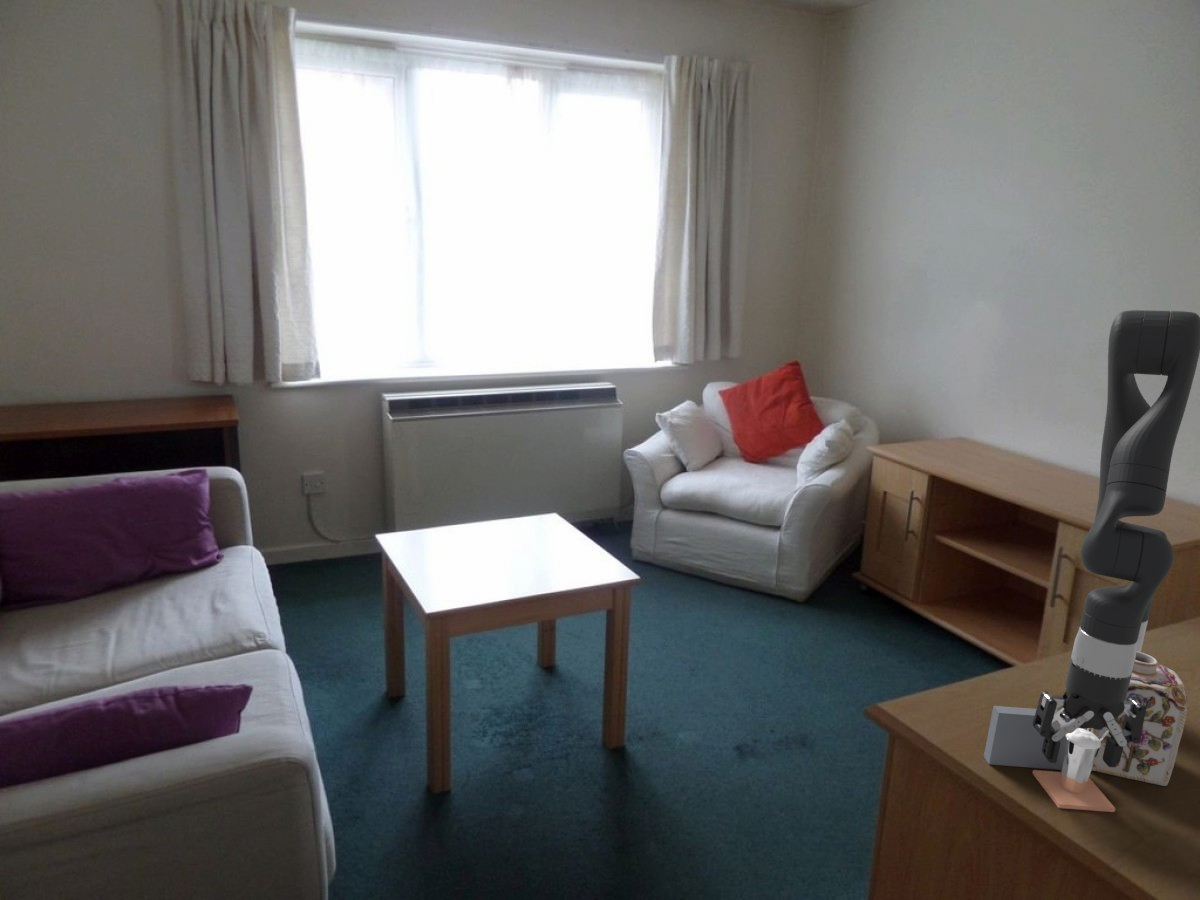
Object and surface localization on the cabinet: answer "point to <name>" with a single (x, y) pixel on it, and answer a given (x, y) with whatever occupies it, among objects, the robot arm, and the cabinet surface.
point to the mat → (1070, 800)
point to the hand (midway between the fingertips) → (1079, 762)
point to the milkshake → (1079, 759)
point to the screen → (1017, 740)
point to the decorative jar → (1150, 724)
